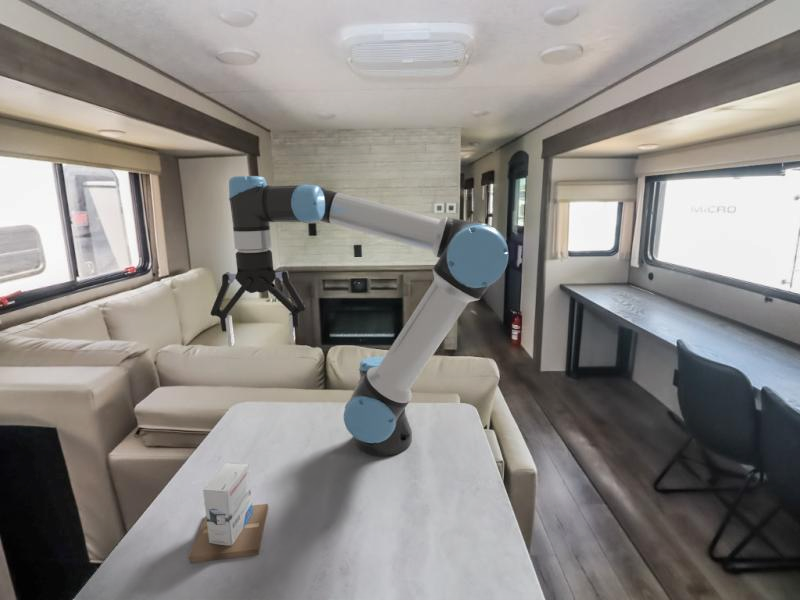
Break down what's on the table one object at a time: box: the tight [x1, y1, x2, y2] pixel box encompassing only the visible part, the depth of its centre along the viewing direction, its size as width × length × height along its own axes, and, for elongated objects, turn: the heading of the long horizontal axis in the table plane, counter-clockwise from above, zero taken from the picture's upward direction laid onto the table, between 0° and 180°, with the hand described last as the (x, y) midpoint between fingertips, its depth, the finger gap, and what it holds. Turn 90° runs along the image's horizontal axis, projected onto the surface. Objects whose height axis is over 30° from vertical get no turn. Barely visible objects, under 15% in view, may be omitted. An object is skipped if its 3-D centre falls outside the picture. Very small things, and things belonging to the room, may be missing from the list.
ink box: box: [202, 462, 253, 546], centre depth 82 cm, size 9×5×12 cm, turn 173°
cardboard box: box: [188, 503, 269, 564], centre depth 83 cm, size 12×12×1 cm
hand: (262, 342), depth 98 cm, fingers open, 13 cm apart
